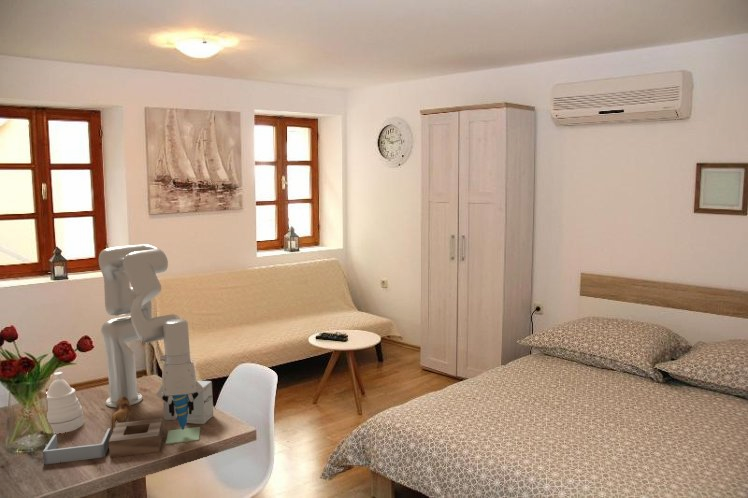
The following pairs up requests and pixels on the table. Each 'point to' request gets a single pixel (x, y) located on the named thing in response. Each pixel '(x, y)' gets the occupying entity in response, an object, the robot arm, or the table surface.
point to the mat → (183, 435)
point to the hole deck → (136, 437)
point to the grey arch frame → (75, 451)
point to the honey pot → (63, 406)
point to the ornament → (181, 409)
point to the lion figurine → (121, 411)
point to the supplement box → (202, 405)
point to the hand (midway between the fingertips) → (181, 413)
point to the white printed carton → (166, 412)
